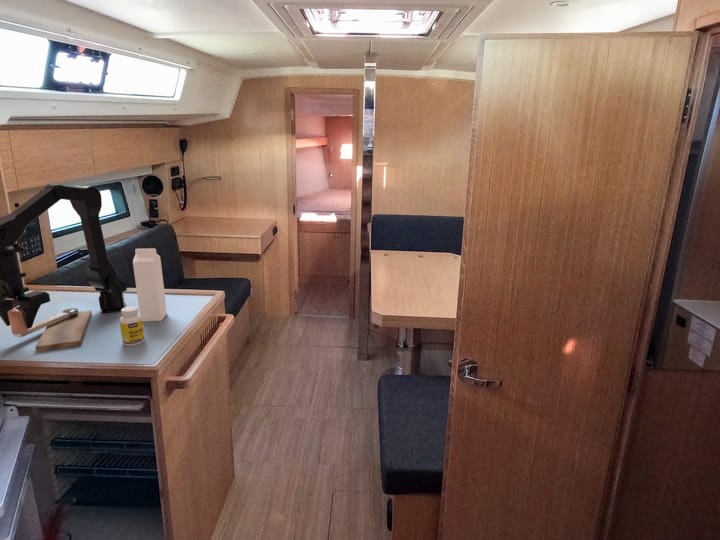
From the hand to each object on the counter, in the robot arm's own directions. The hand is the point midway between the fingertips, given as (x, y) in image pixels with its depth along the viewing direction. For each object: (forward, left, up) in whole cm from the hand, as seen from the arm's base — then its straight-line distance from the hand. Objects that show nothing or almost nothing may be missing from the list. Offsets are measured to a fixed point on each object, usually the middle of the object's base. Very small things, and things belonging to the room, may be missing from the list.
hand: (19, 326), depth 123 cm
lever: (-5, -6, -3) cm, 8 cm away
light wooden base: (-10, -4, -4) cm, 11 cm away
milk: (-33, -6, -5) cm, 34 cm away
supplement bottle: (-28, +11, -5) cm, 30 cm away
